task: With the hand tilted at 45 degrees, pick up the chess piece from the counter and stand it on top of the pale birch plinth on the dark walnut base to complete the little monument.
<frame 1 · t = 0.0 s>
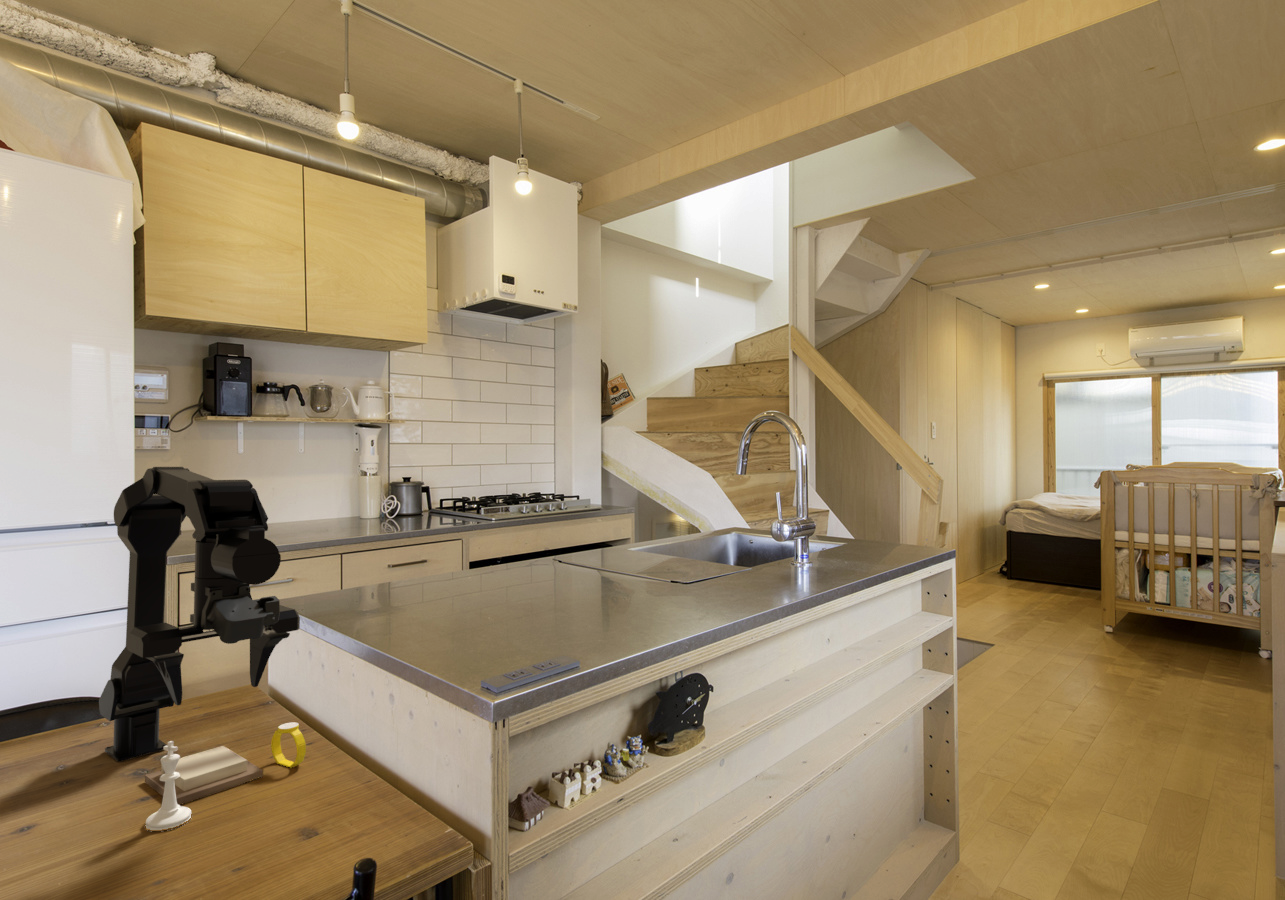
hand: (217, 695, 92), 15 cm above the table, tool pointing down, fingers open, 9 cm apart
build base: (204, 779, 100), on the table
chess piece: (168, 823, 88), on the table
watch: (287, 766, 105), on the table
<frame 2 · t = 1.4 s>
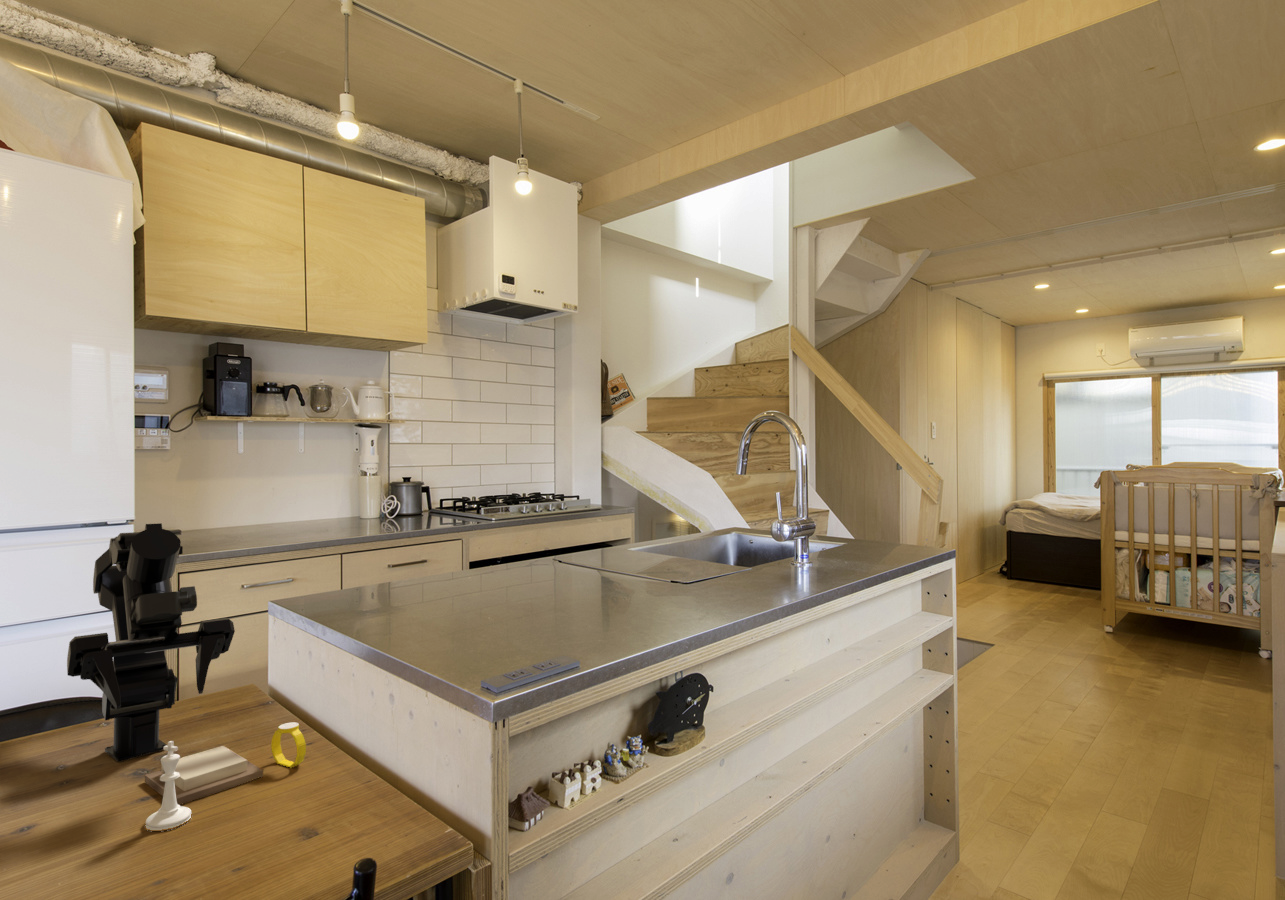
hand: (161, 699, 94), 13 cm above the table, tool tilted 45°, fingers open, 9 cm apart
nothing on the table moved.
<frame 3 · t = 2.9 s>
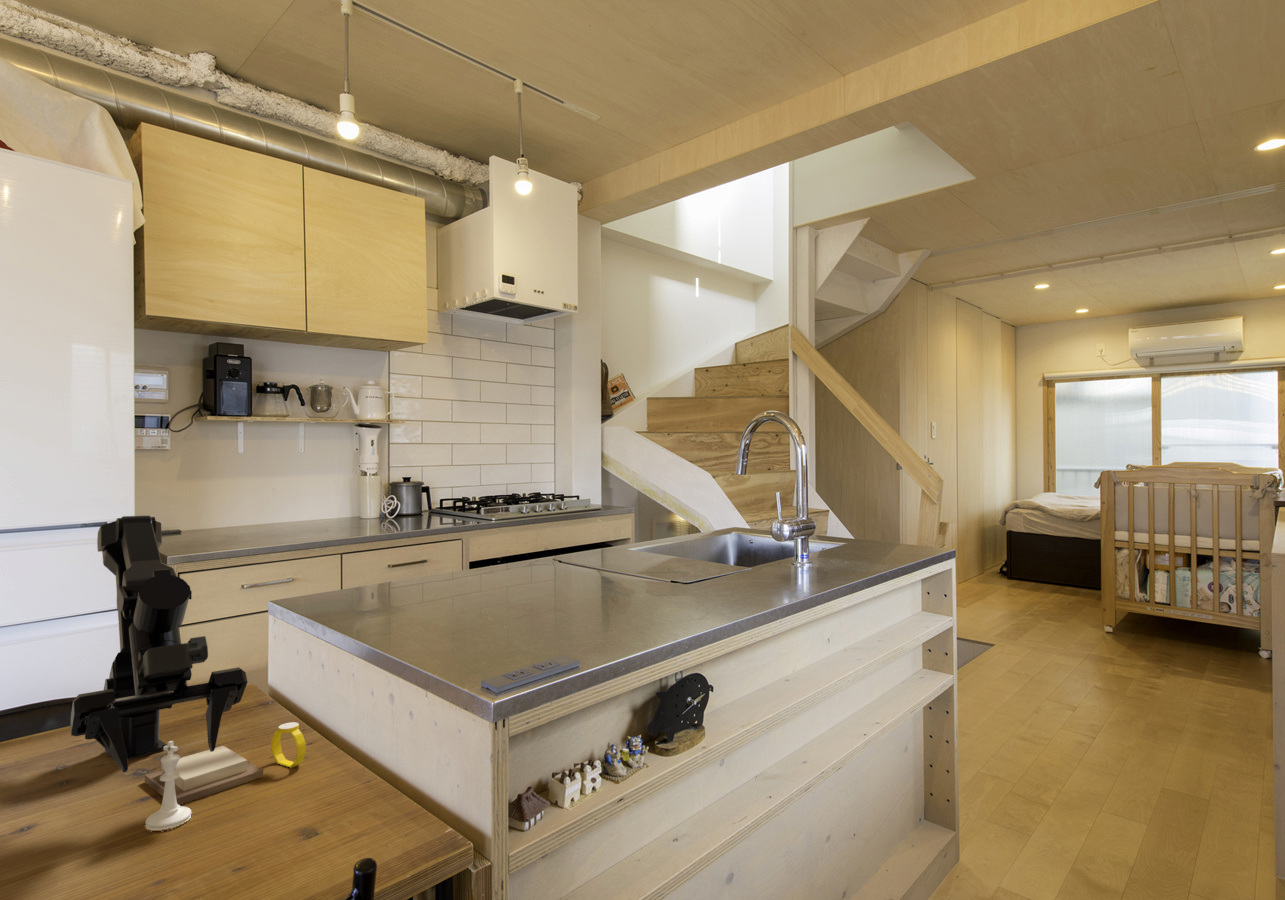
hand: (170, 759, 88), 8 cm above the table, tool tilted 45°, fingers open, 9 cm apart
nothing on the table moved.
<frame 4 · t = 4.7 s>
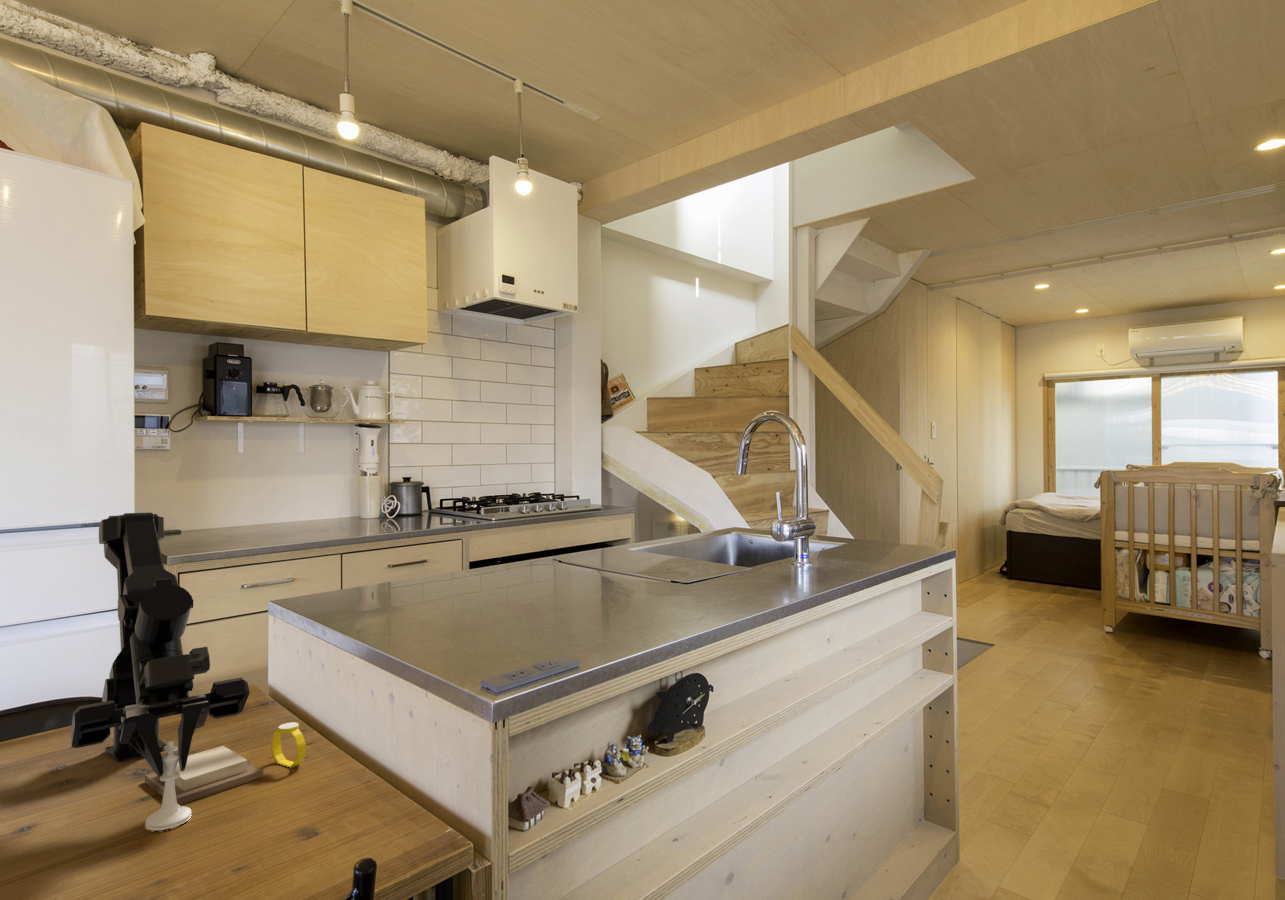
hand: (172, 772, 87), 7 cm above the table, tool tilted 45°, fingers closed on chess piece
chess piece: (168, 823, 88), on the table, touching gripper
everything else where it was.
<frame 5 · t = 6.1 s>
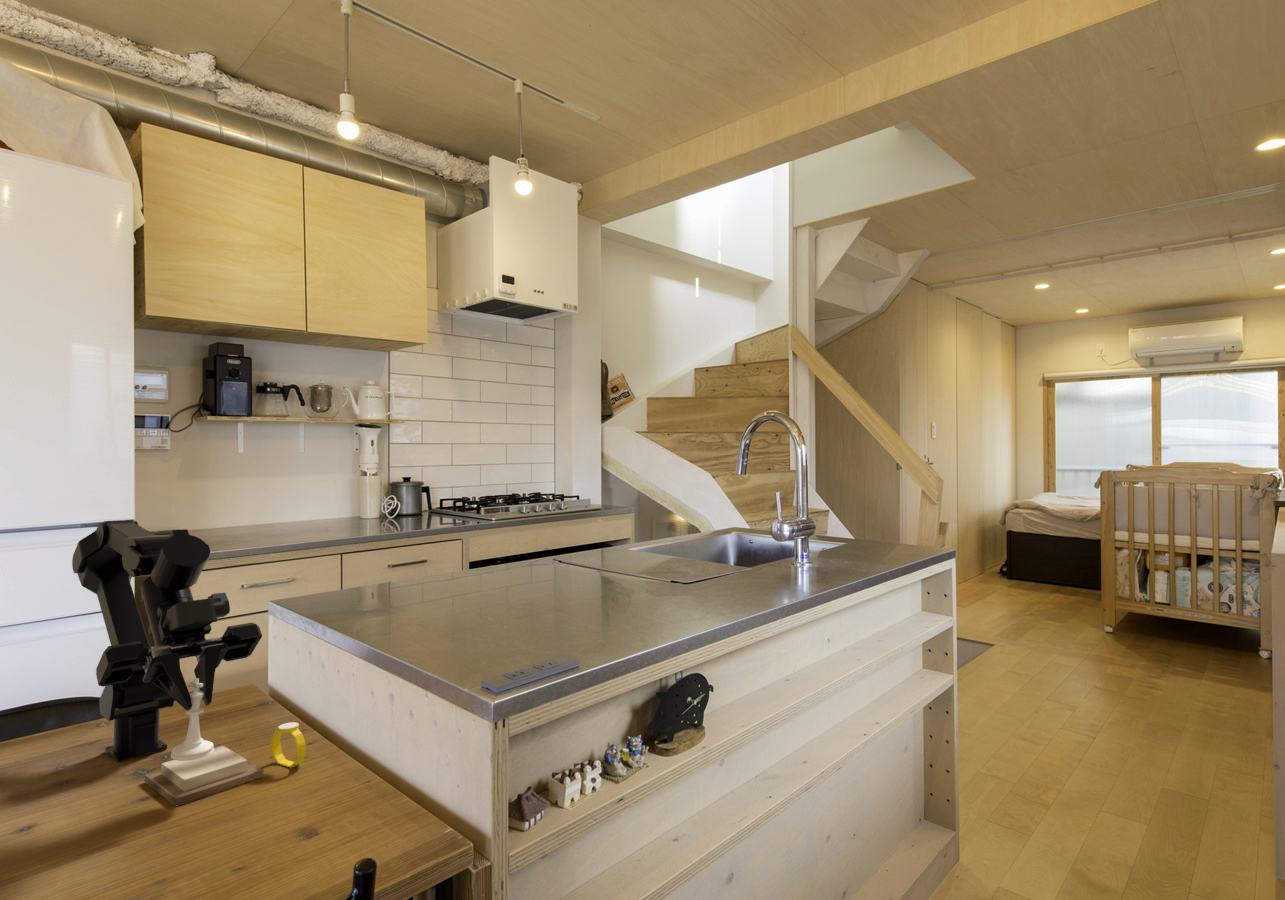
hand: (199, 706, 94), 12 cm above the table, tool tilted 45°, fingers closed on chess piece
chess piece: (192, 754, 95), point 6 cm above the table, touching gripper
everything else where it was.
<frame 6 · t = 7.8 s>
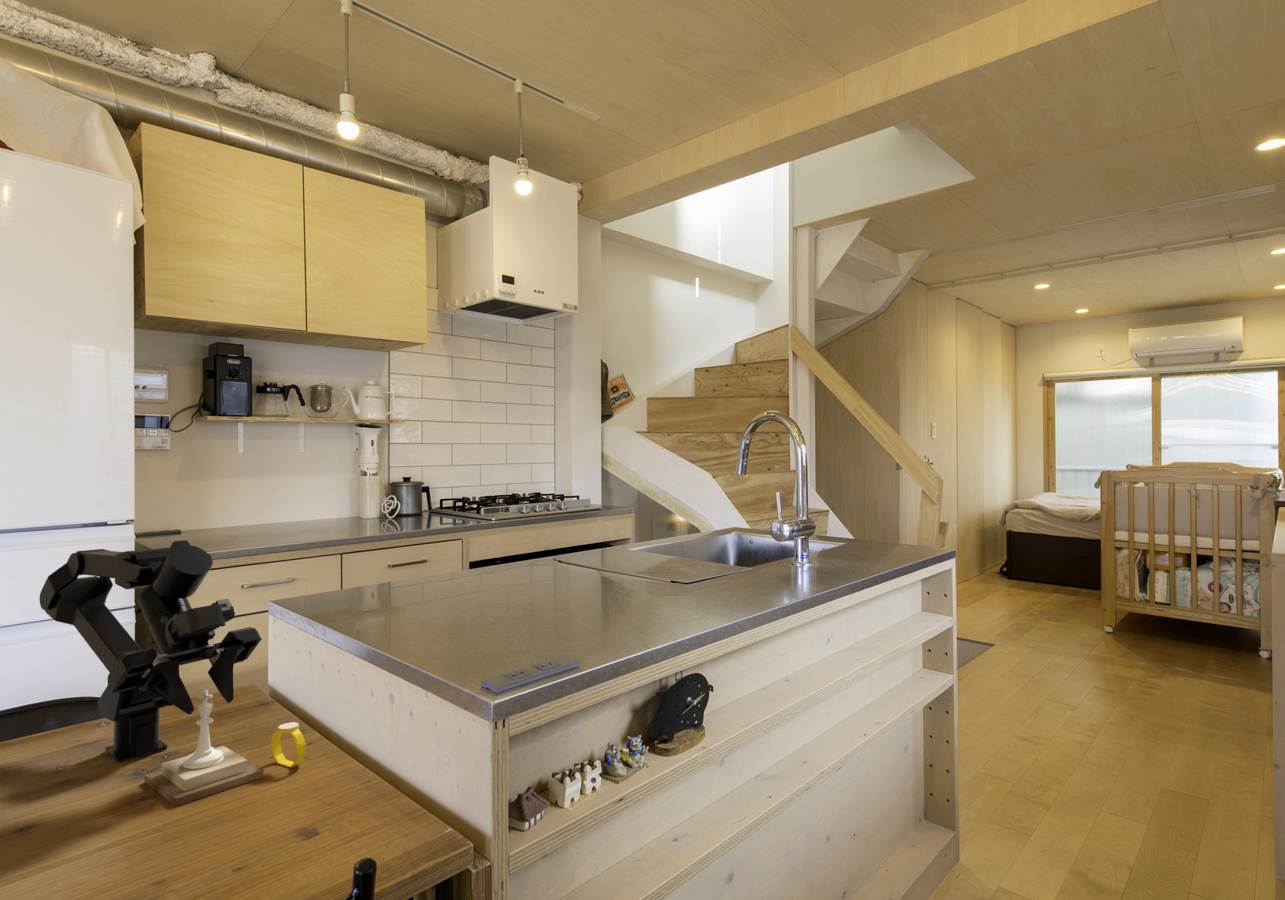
hand: (211, 706, 99), 11 cm above the table, tool tilted 45°, fingers open, 5 cm apart
chess piece: (203, 762, 100), point 2 cm above the table, touching build base
everything else where it was.
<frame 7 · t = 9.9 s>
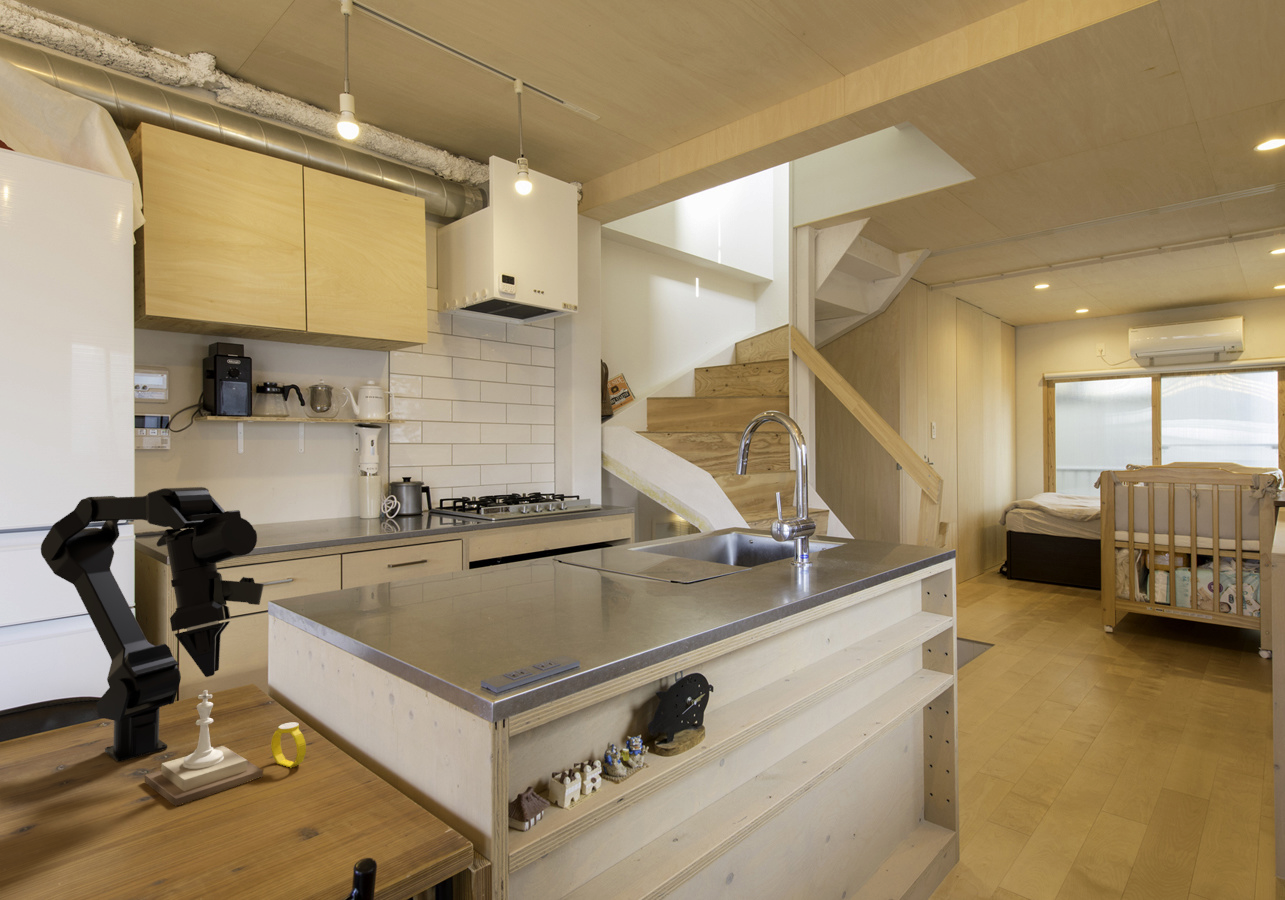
hand: (212, 673, 104), 14 cm above the table, tool tilted 15°, fingers open, 9 cm apart
nothing on the table moved.
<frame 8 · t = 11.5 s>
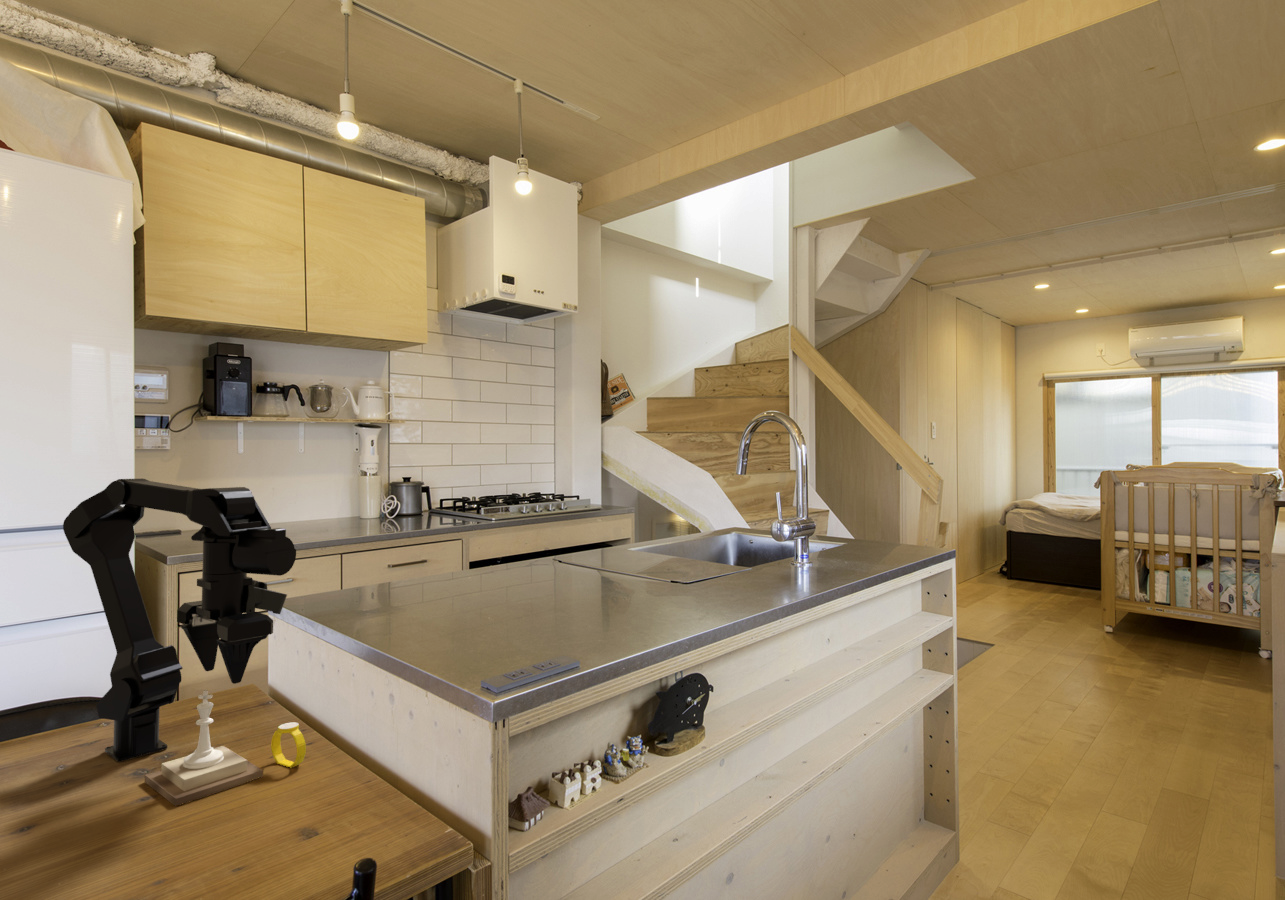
hand: (222, 676, 105), 13 cm above the table, tool pointing down, fingers open, 9 cm apart
nothing on the table moved.
at the end: chess piece 0.2 cm off-centre on the build base, point 2.3 cm above the build base's base; chess piece tilted 0°; the gripper is holding nothing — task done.
